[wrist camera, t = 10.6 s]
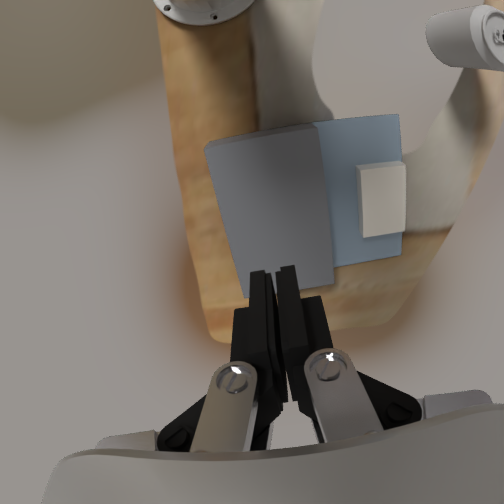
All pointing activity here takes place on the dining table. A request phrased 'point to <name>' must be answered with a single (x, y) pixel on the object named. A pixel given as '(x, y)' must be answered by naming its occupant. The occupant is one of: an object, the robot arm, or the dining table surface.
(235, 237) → the panel
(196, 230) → the dining table surface
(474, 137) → the dining table surface
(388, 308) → the dining table surface
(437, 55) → the can
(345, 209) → the mat
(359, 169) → the tile
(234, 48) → the dining table surface
